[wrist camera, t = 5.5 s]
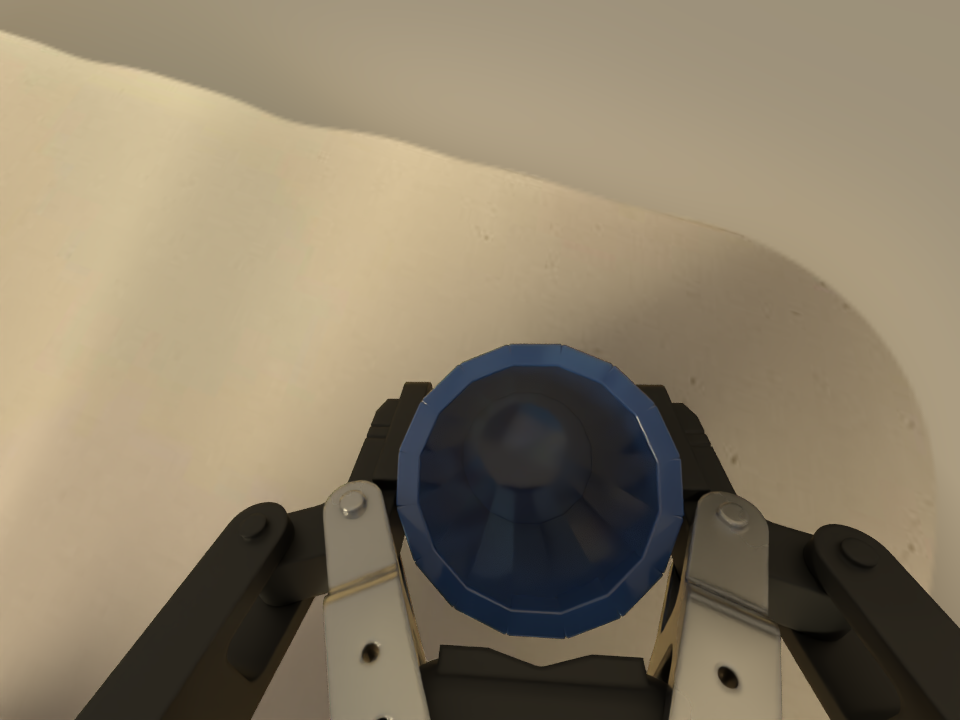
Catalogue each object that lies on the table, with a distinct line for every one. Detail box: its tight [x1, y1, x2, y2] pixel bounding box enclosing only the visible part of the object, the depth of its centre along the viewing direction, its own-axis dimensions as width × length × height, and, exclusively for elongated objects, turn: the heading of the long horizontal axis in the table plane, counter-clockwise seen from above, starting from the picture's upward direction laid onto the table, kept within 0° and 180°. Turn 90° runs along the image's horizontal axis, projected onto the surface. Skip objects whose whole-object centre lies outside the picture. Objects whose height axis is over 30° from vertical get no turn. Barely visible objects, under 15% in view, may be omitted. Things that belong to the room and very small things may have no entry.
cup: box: [396, 344, 684, 639], centre depth 12 cm, size 6×6×8 cm
